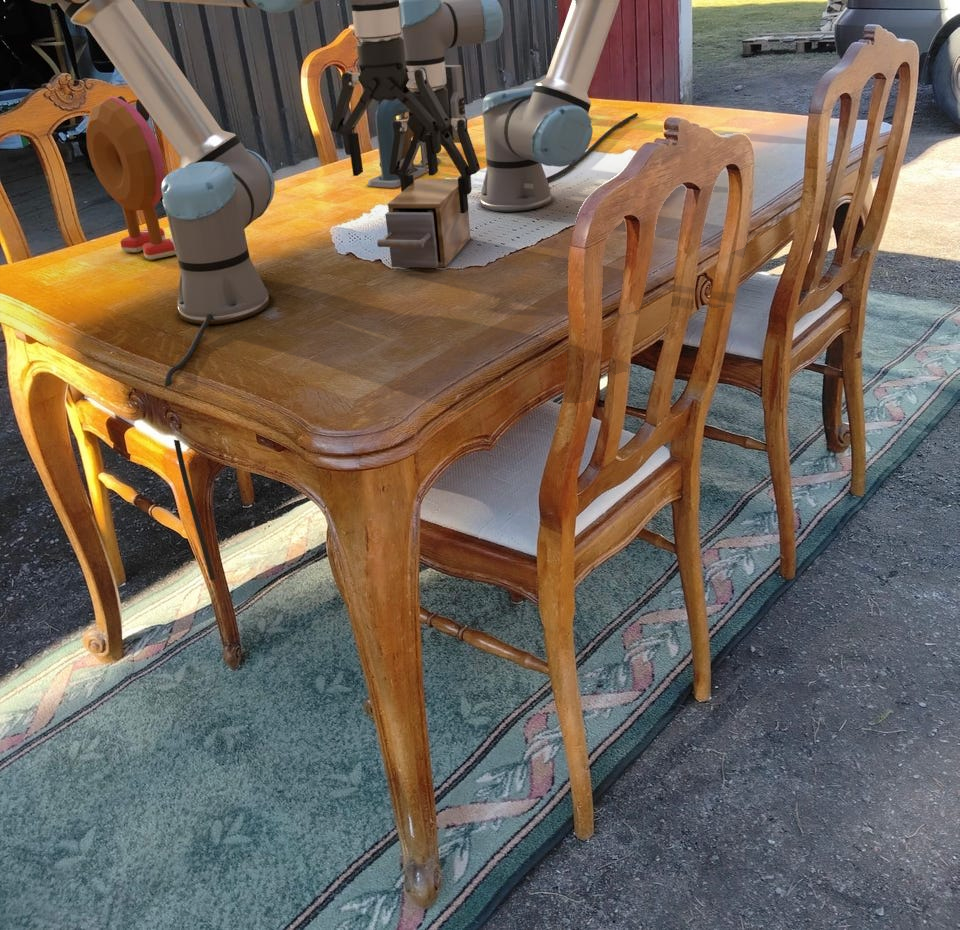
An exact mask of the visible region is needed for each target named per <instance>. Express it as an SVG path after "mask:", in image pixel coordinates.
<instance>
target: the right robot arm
mask: <svg viewBox="0 0 960 930" xmlns="http://www.w3.org/2000/svg"><path fill="white" fill-rule="evenodd" d="M620 1H621V0H571V3H570V6H569V8H568V12H567V14H566V18H565V21H564V24H563V26H562V29H561V33H560V35H559V38H558V41H557V44H556V46H555V50H554V52H553V56H552V59H551V62H550V65H549V68H548V70H547V73H546V76H545V77H544V79H542V80H540V81H538V82H536V83H535V85H534V86H530V87H520V88H513V89H505V90H500V91H495V92H491V93H488V94H486V95H485V96H484V98H483V99H482V113H481V115H482V117H483V118H482V119H483V121H482V122H483V134H484V144H485V145H484V146H485V158H486V159H485V160H486V171H485V175H484V178H483V183H482V187H481V192H480V206H481V207H483V208H484V209H486V210H488V211H493V212H502V213H503V212H504V213H505V212H507V213H511V212H512V213H513V212H524V211H530V210H536V209H539V208H543V207H545V206H546V205H548V204H550V203H551V201H552V190H551V187H550V183H549V182H551V181H553V180H556V179H557V178H559V177H560V176H564V174H566V173H567V172H568V171H570V170H571V169H573V168H575V167H576V166H577V165H579V164H580V163H581V162H582V161H583V160H585V159H586V158H587V157H588V156H589V155H590V154H591V153H592V152H594V150H595V149H596V148H597V147H598V146H599V145H600V144H601V143H602V142H603V141H604V140H605V139H607V137H608V136H610V135H611V134H612V133H613V132H614V131H616V130H617V129H619V128H621V126H623V125H624V124H626V123H628V122H630V121H632V120H633V119H635V118H637V117H638V116H639V113H637V112H635V113H633V114H631V115H630V116H628V117H626V118H624V119H623V120H621V121H619V122H617V123H616V124H615V125H614V126H612V127H611V128H609V129H608V130H607V131H606V132H604V133H603V134H602V136H600V137H599V138H598V139H597V140H596V142H594V143H593V144H592V145H591V141H592V138H593V128H594V127H593V126H592V119H591V117H590V115H589V112H590V109H591V106H592V102H591V100H590V97H589V95H588V92H589V89H590V86H591V83H592V81H593V77H594V75H595V73H596V69H597V66H598V63H599V60H600V57H601V55H602V52H603V50H604V47H605V44H606V40H607V38H608V35H609V32H610V29H611V27H612V23H613V21H614V18H615V15H616V12H617V9H618V8H619V3H620ZM399 6H400V13H401V23H402V33H401V34H399V37H402V39H403V40H404V49H405V59H406V67H407V69H408V71H414V70H418V69H420V68H425V69H426V73H427V78H428V82H429V84H430V86H431V88H432V90H433V91H434V93H435V95H436V97H437V99H438V100H439V102H440V104H441V106H442V108H443V109H444V111H445V113H446V115H447V117H448V119H449V120H450V125H449V126H448V127H447V128H446V129H444V130H441V131H440V139H441V147H443V148H444V150H445V152H446V153H447V155H448V156H449V158H450V159H451V161H452V163H453V164H454V166H455V168H456V169H457V171H458V172H459V174H460V176H458V177H457V179H458V187H459V198H460V210H461V213H465V212H466V211H467V210H468V211H469V197H468V195H470V194H471V193H472V190H473V188H472V187H473V186H472V177H471V176H472V175H476V174H477V173H478V172H479V171H480V170H481V166H480V163H479V160H478V157H477V153H476V151H475V148H474V146H473V143H472V140H471V136H470V133H469V131H468V130H469V129H468V118H467V117H466V116H465V117H466V118H465V117H463V118H461V119H457V118H452V117H451V115H450V113H449V101H448V90H447V89H446V87H444V85H445V84H446V83H447V80H446V68H445V65H446V56H445V49H446V50H447V49H452V48H458V47H465V46H471V45H472V46H473V45H478V44H479V45H480V44H482V45H485V43H488V42H493V41H496V40H498V39H499V38H500V36H501V34H502V33H503V31H504V30H503V29H504V24H505V23H504V13H503V9H502V6H501V4H500V2H499V1H498V0H399ZM406 86H407V87H408V88H409V89H410V90H411V92H412V93H413V95H414V97H415V98H416V99H417V100H418V101H419V102H420V103H421V105H422V106H423V107H424V108H425V109H426V110H427V111H428V112H429V114H430V115H431V116H432V117H433V115H432V113H431V112H430V110H429V108H428V106H427V104H426V103H425V101H424V99H423V97H422V95H421V94H420V92H419V90H418V88H417V85H415V84H414V83H413V81H412V80H411V79H409V81H408V83H407V85H406ZM407 113H408V114H407V115H408V116H407V117H408V119H405V120H402V119H401V118H397V119H396V120H394V122H393V130H394V140H393V148H392V155H391V162H390V169H389V172H390V174H392V175H393V174H395V175H397V176H399V178H400V183H401V186H400V190H401V192H402V191H404V190H405V189H406V188H407V187H408V186H410V185H411V184H412V183H413V182H414V181H415V179H413V175H408V174H409V173H410V172H409V171H410V169H411V166H412V164H413V162H414V161H415V158H416V157H417V154H418V151H419V149H420V144H421V143H422V142H426V141H425V135H426V134H427V133H429V131H428V130H427V129H426V128H425V127H424V126H423V125H422V123H421V122H420V121H419V120H418V119H417V118H416V117H415V116H414V114H413V113H412V112H411V111H410V110H409V109H408V112H407ZM433 118H434V117H433ZM451 125H453V126H454V129H455V130H456V131H457V133H458V137H459V140H460V143H459V144H460V146H461V149H462V152H463V155H464V156H463V155H462V153H461V152H460V150H459V148H458V147H457V145H456V143H454V142H453V139H452V137H451V135H450V133H449V132H448V130H449V128H450V127H451ZM407 126H408V127H409V128H410V129H411V131H412V132H413V133H414V136H412V137H411V145H410V147H409V150H408V152H407V154H406V157H405V159H404V162H403V164H402V167H400V162H401V156H402V149H403V142H404V134H405V131H406V129H407ZM590 145H591V146H590ZM589 146H590V147H589ZM464 157H465V158H464ZM543 165H544V166H547V167H559V168H562V167H564V168H562V169H561V170H560V171H558V172H556V173H553V174H552V175H550V176H548V177H547V175H546V172H545V170H544V167H543ZM401 192H400V193H401Z"/></svg>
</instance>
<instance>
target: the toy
mask: <svg viewBox="0 0 960 930" xmlns="http://www.w3.org/2000/svg"><path fill="white" fill-rule="evenodd" d="M149 120H150V114H149V113H148V112H147V110H146V109H145V107H144V106H143V105H142V103H141V102H140V101H139V99H138V98H137V99H136V102H135V107H134V106H133V105H132V104H130V103H128V101H127V99H126V98H125V97H124V96H122V95H120V96H117V97H116V96H110V97H108V98H106V99H104V100H102V101H100V102H99V103H96V104H95V105H93V106H92V107H91V109H90V111H89V114H88V117H87V121H86V127H85V128H86V130H85V135H86V136H85V137H86V138H85V139H86V149H87V153H88V156H89V160H90V163H91V167H92V169H93V170H94V173H95V175H96V177H97V179H98V181H99V183H100V184H101V185H102V187H103V188H104V189H105V191H106V192H107V193H108V195H109V196H110V197H111V198H112V199H113V200H114V201H115V202H116V203H117V204H119V205H120V206H121V209H122V213H123V216H124V220H125V224H126V229H127V233H128V236H126V237H123V238H121V240H120V248H121V250H122V251H123V252H125V253H140V252H142V251H143V255H144V257H145V259H147V260H149V261H152V260H157V259H162V258H163V259H164V258H167V257H171V256H177V255H176V251H175V247H174V243H173V239H172V237H169V238H166V234H165V233H166V232H165V230H164V229H163V228H161V227H160V222H159V217H158V214H157V209H156V206H157V205H159V202H160V200H161V199H162V198H163V195H162V190H161V186H162V182H163V180H164V178H165V177H166V176H165V162H164V158H163V153H162V150H161V146H160V144H159V142H158V139H157V136H156V135H155V132H154V131H153V129H152V127H151V126H150V124H149V123H148V122H149ZM137 211H142V212H143V216H144V222H145V224H146V228H144V229H140V224H139V220H138V214H137Z"/></svg>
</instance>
